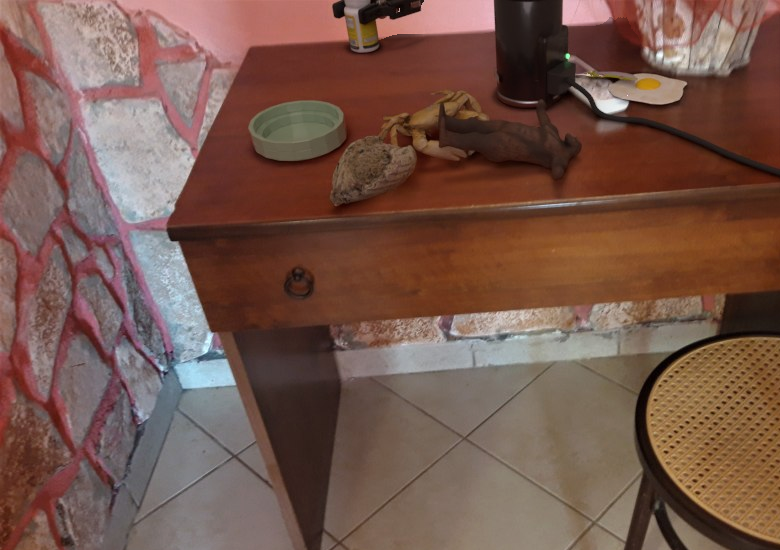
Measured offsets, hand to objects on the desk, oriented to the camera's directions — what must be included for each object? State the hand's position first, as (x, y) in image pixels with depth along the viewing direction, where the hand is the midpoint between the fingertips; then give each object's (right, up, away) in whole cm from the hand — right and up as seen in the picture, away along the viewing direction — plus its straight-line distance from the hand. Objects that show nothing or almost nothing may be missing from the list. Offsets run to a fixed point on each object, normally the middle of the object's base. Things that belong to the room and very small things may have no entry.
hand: (347, 14), depth 120 cm
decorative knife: (+41, -11, -5) cm, 42 cm away
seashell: (+6, -33, -26) cm, 42 cm away
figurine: (+17, -26, -28) cm, 42 cm away
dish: (-2, -25, -18) cm, 31 cm away
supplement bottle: (+2, -3, +6) cm, 7 cm away
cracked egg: (+46, -15, -9) cm, 49 cm away
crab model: (+14, -26, -16) cm, 33 cm away
